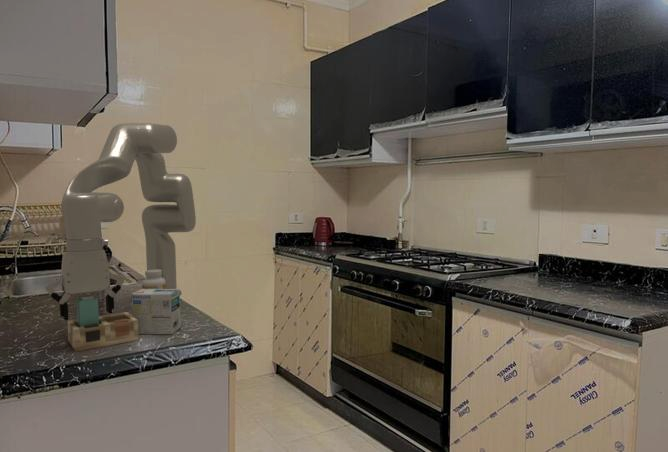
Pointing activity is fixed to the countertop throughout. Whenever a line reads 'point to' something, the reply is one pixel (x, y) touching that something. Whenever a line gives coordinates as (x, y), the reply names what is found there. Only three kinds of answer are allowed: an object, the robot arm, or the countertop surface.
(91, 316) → the teal tall block
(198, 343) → the countertop surface
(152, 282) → the supplement bottle
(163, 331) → the light bulb box
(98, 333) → the socket block
